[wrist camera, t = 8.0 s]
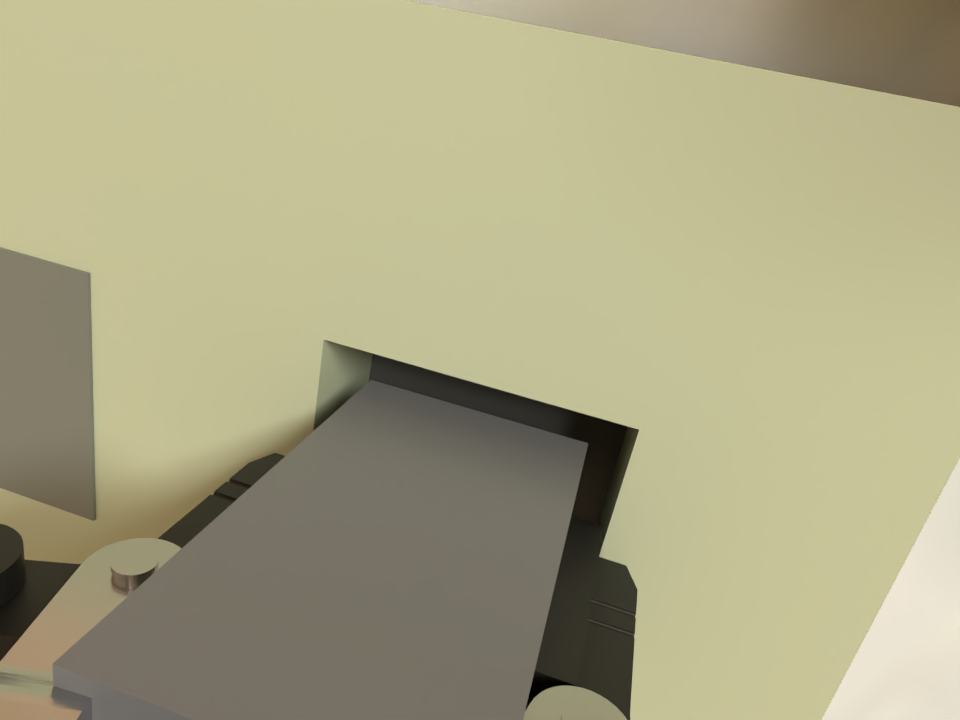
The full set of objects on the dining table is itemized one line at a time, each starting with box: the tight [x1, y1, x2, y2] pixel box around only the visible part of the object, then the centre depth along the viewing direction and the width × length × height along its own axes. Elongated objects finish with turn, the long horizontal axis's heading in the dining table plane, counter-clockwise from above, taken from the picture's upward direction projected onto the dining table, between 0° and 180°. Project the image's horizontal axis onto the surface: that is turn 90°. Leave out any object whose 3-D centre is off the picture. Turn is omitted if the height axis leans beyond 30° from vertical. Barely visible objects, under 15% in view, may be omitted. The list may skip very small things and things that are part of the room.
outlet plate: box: [0, 0, 960, 720], centre depth 14 cm, size 16×24×3 cm, turn 79°
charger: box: [52, 380, 588, 720], centre depth 10 cm, size 4×4×7 cm
